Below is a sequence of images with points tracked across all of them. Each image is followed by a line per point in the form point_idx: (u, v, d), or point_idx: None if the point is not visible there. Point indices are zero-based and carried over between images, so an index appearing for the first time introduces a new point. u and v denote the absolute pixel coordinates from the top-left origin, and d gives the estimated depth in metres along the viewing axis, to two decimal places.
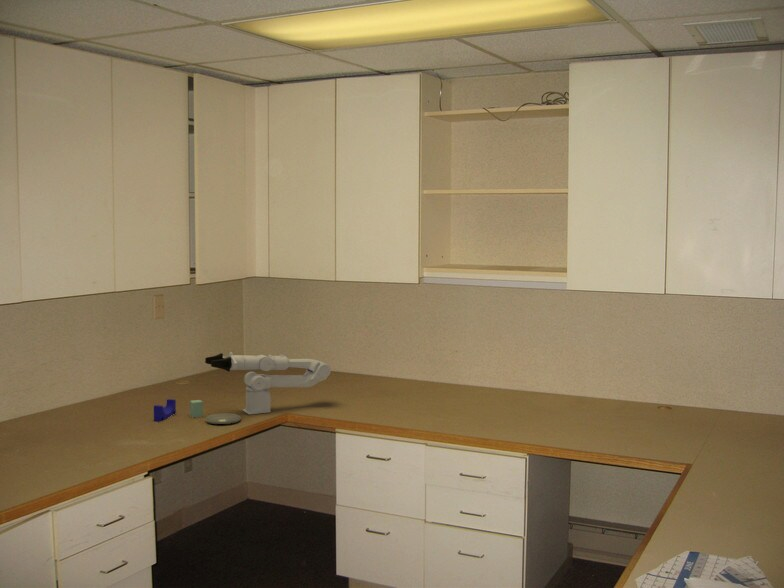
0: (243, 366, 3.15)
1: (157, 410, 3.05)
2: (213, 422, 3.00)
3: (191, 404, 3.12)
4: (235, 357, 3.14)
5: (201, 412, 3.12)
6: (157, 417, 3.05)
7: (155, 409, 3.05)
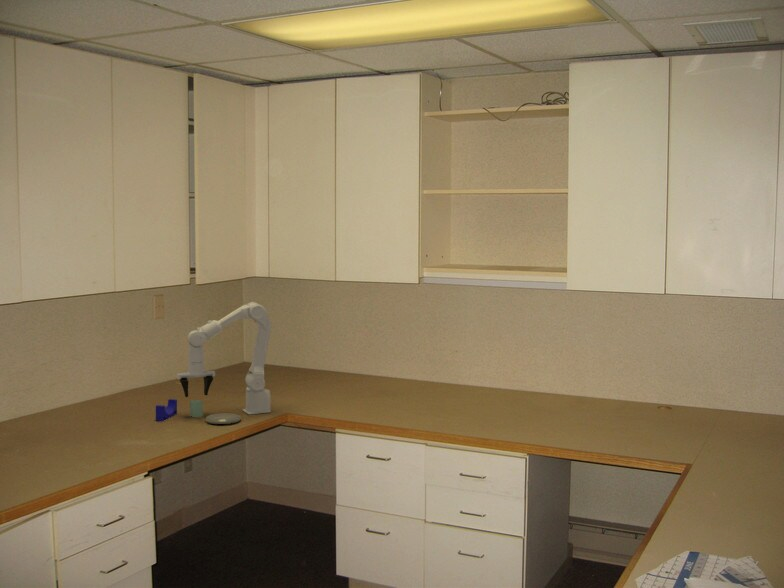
0: (190, 362, 3.09)
1: (159, 410, 3.05)
2: (213, 422, 3.00)
3: (191, 404, 3.12)
4: None
5: (201, 412, 3.12)
6: (159, 417, 3.05)
7: (157, 409, 3.05)
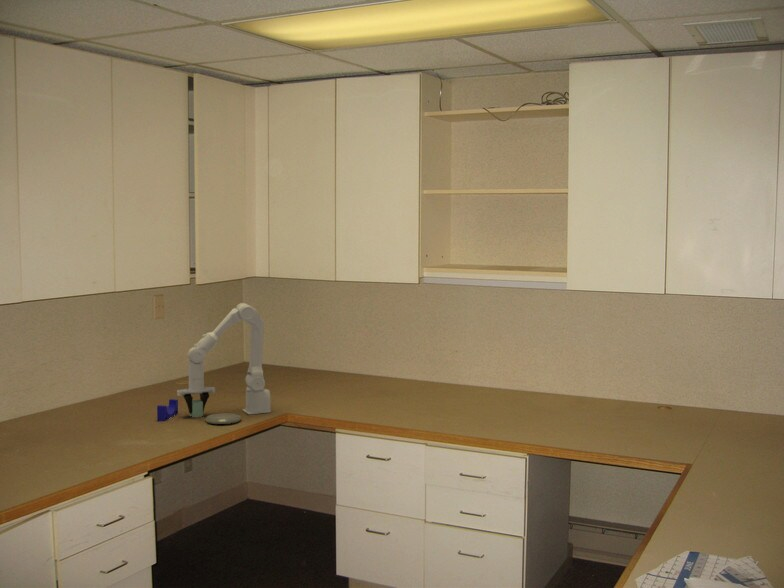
0: (190, 379, 3.10)
1: (160, 410, 3.05)
2: (213, 422, 3.00)
3: None
4: None
5: (201, 412, 3.12)
6: (161, 418, 3.05)
7: (159, 409, 3.05)
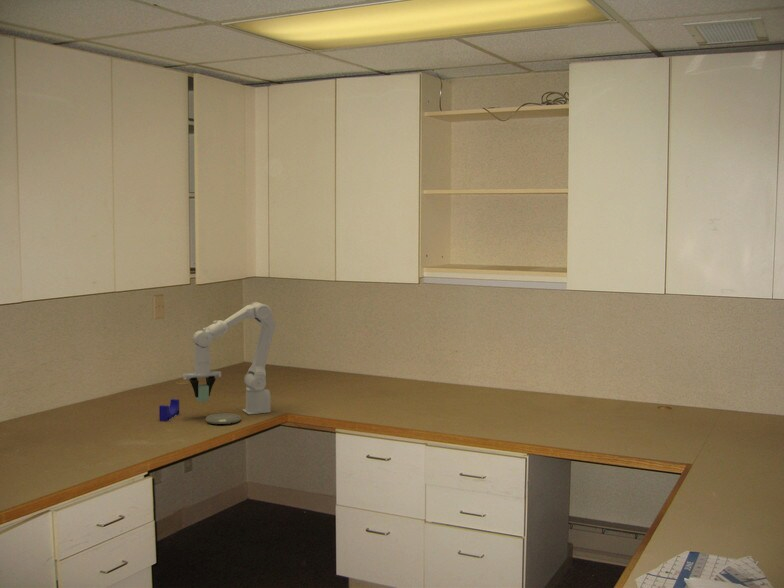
0: (196, 363, 3.08)
1: (162, 410, 3.05)
2: (213, 422, 3.00)
3: None
4: None
5: (207, 396, 3.10)
6: (163, 417, 3.05)
7: (161, 409, 3.05)
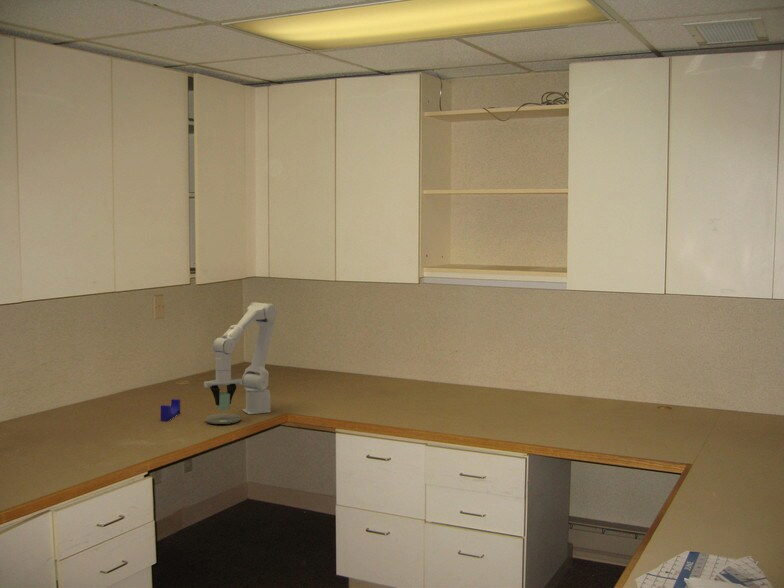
0: (217, 370, 3.02)
1: (164, 410, 3.05)
2: (213, 422, 3.00)
3: None
4: None
5: (228, 404, 3.05)
6: (164, 417, 3.05)
7: (162, 409, 3.05)
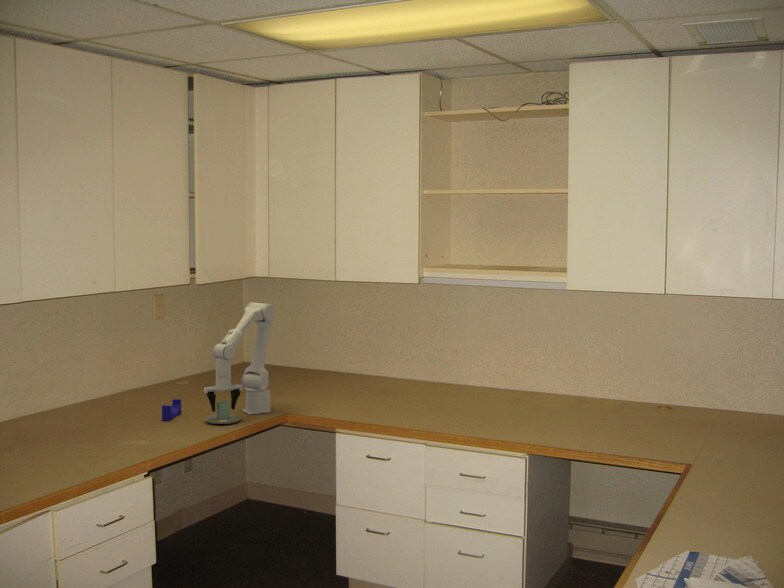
0: (217, 376, 3.02)
1: (165, 410, 3.05)
2: (213, 422, 3.00)
3: (218, 405, 3.05)
4: None
5: (228, 413, 3.05)
6: (166, 417, 3.05)
7: (163, 409, 3.05)
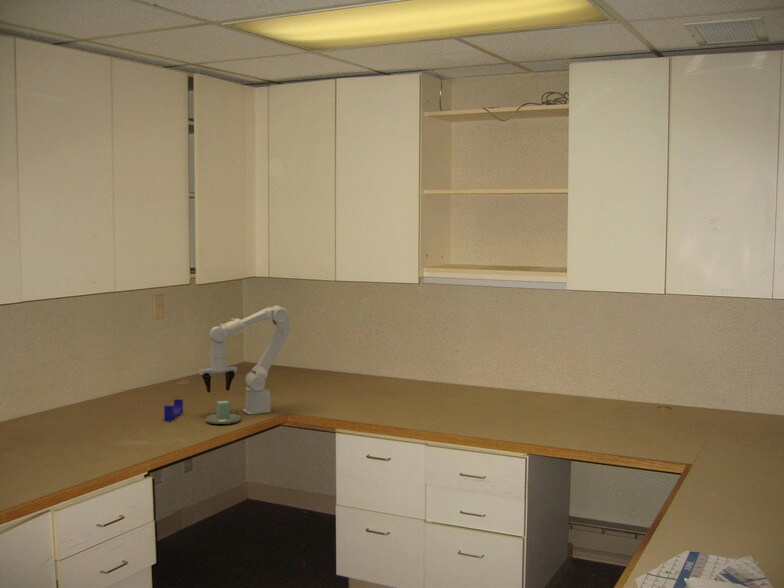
0: (212, 358, 3.12)
1: (167, 410, 3.05)
2: (213, 422, 3.00)
3: (218, 405, 3.05)
4: None
5: (228, 413, 3.05)
6: (168, 418, 3.05)
7: (166, 409, 3.05)
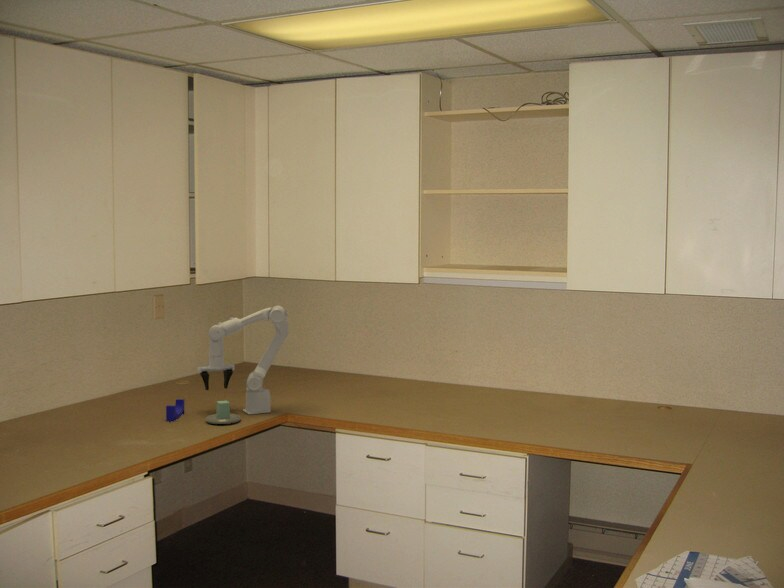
0: (210, 356, 3.16)
1: (169, 410, 3.05)
2: (213, 422, 3.00)
3: (218, 405, 3.05)
4: None
5: (228, 413, 3.05)
6: (170, 418, 3.05)
7: (168, 409, 3.05)
